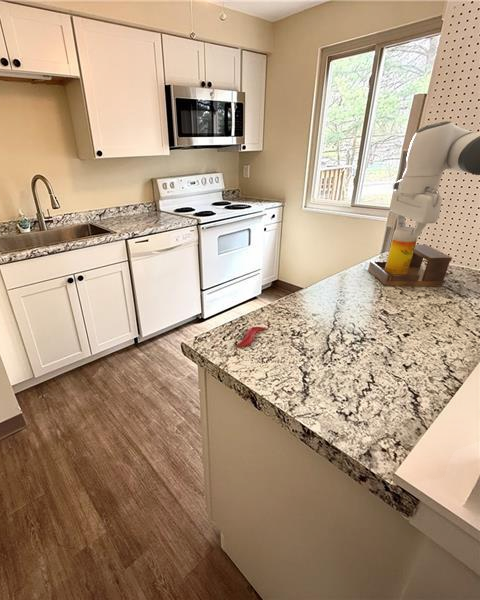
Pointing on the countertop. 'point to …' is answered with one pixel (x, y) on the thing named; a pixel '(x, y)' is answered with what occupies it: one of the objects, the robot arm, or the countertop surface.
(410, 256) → the beer can
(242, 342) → the cayenne pepper
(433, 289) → the countertop surface
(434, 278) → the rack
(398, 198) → the robot arm
